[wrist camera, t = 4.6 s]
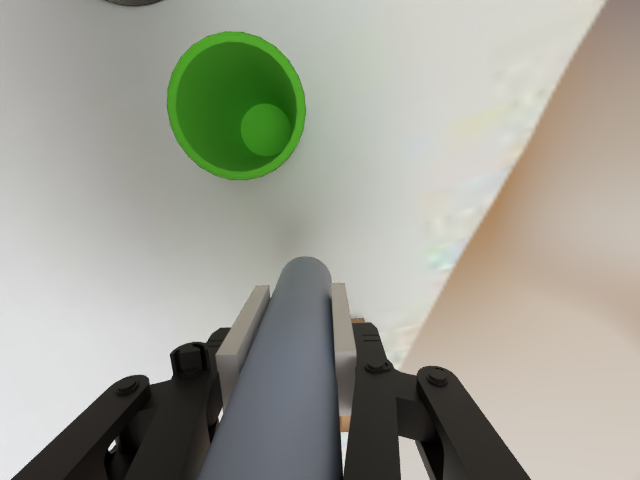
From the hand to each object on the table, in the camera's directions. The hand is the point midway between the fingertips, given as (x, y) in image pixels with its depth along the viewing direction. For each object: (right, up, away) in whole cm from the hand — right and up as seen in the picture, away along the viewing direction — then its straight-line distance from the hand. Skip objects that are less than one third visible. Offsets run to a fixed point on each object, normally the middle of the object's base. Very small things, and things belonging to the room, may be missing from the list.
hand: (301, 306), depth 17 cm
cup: (-4, +15, +13) cm, 20 cm away
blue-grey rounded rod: (0, +1, +4) cm, 4 cm away
